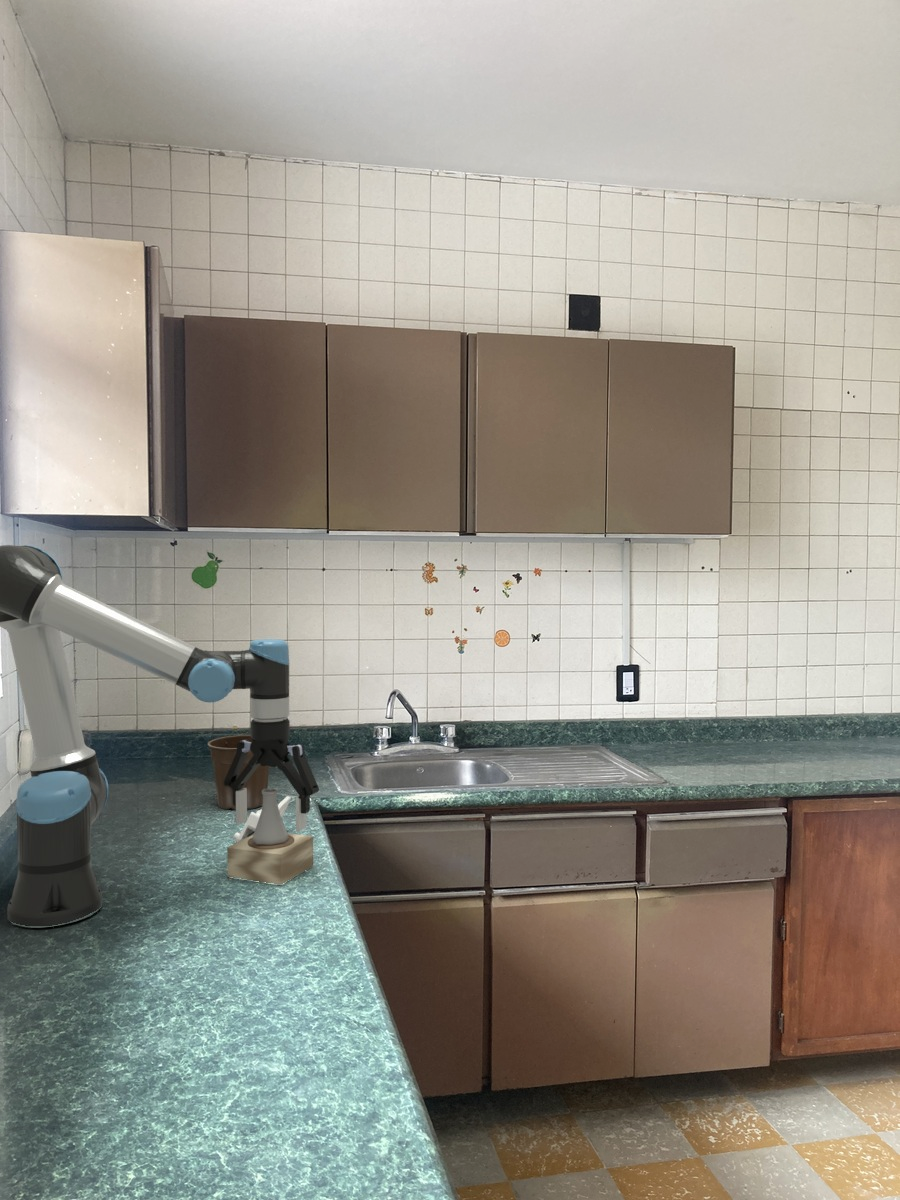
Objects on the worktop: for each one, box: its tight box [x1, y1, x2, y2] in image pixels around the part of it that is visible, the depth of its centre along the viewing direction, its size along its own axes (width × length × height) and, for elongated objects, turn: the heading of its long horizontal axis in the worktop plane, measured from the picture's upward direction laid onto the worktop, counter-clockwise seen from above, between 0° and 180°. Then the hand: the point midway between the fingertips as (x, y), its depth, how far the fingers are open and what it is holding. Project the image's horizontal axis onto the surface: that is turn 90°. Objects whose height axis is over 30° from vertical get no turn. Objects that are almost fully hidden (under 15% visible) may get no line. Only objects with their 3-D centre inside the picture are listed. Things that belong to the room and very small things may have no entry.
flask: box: [252, 787, 289, 845], centre depth 176 cm, size 7×7×10 cm
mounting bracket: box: [232, 795, 292, 843], centre depth 198 cm, size 12×6×11 cm, turn 174°
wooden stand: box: [226, 832, 314, 884], centre depth 176 cm, size 12×12×6 cm
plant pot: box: [207, 734, 270, 811], centre depth 226 cm, size 16×16×16 cm
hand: (270, 825), depth 176 cm, fingers open, 13 cm apart
